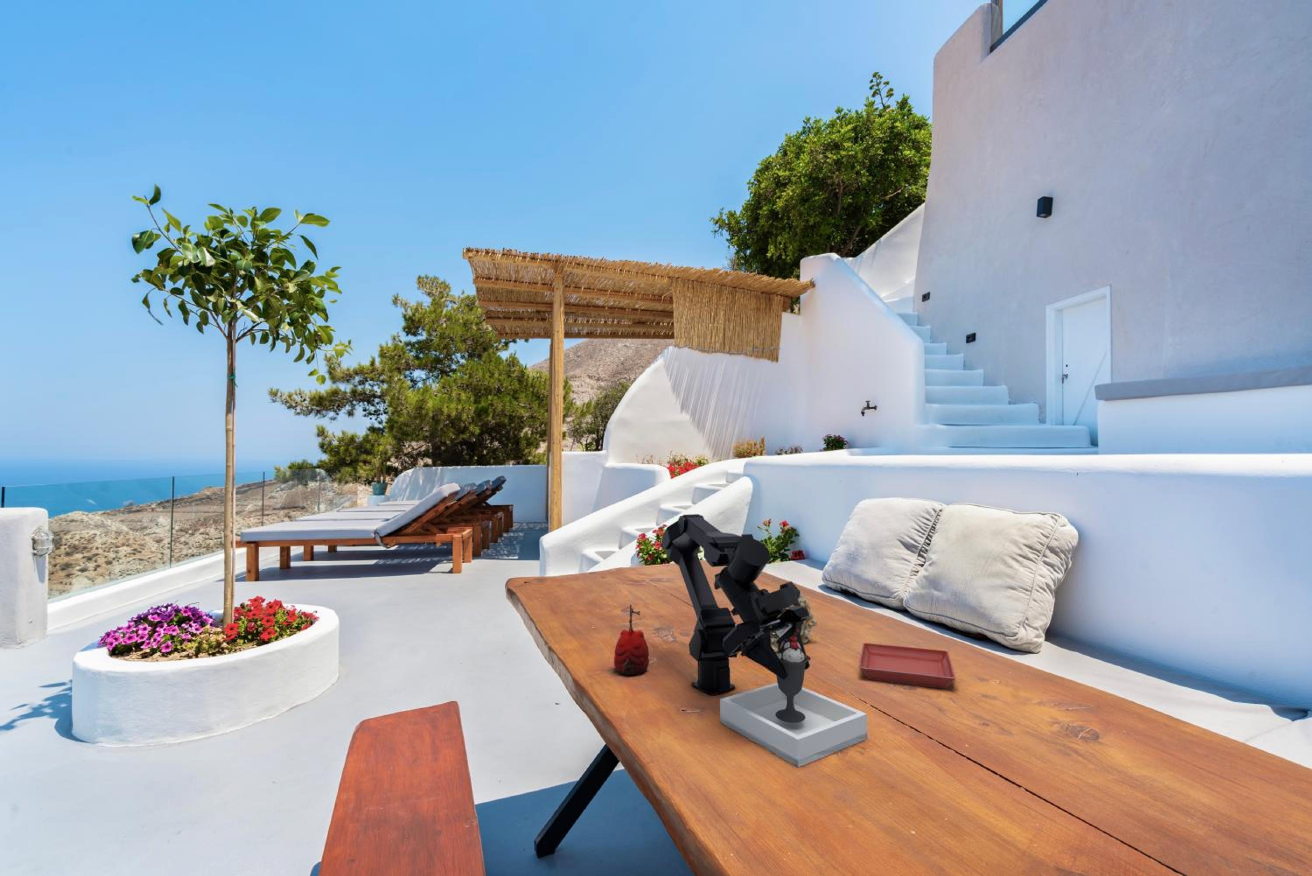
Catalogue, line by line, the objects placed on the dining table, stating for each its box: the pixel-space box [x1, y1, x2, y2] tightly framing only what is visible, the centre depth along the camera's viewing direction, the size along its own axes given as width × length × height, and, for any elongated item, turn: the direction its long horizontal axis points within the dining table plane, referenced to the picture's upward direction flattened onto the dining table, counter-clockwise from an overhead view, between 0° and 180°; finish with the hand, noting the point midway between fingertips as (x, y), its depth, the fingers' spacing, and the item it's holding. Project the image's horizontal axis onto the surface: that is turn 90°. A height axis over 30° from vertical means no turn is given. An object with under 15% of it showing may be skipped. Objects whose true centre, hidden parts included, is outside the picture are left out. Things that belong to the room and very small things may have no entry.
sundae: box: [774, 629, 812, 723], centre depth 99 cm, size 7×7×15 cm
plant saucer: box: [858, 642, 956, 689], centre depth 126 cm, size 18×18×3 cm
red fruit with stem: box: [613, 604, 650, 676], centre depth 127 cm, size 8×7×15 cm
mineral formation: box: [770, 580, 818, 644], centre depth 150 cm, size 8×13×15 cm, turn 42°
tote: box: [719, 682, 868, 768], centre depth 99 cm, size 18×16×4 cm
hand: (797, 673), depth 98 cm, fingers closed on sundae, 6 cm apart
